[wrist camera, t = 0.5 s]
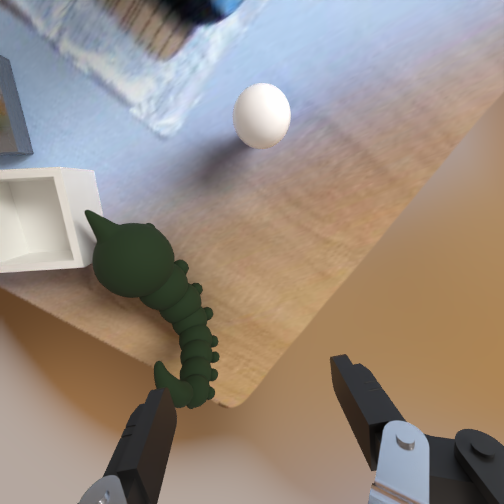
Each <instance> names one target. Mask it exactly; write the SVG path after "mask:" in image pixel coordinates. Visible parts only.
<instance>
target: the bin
mask: <svg viewBox="0 0 504 504" xmlns="http://www.w3.org/2000/svg"><path fill="white" fill-rule="evenodd" d="M85 210H90V211H93V212H95V213H96V214H98V215H100V216H102V217H103V212H102V207H101V202H100V197H99V192H98V187H97V183H96V178H95V173H94V170H85V169H76V168H66V167H48V168H27V169H6V170H0V273H6V272H21V271H37V270H52V269H67V268H82V267H86V266H88V265H89V264H91V263H93V262H92V258H93V251H94V248H95V246H96V244H97V240H96V237H95V235H94V233H93V231H92V229H91V227H90V225H89V223H88V221H87V218H86V216H85Z"/></svg>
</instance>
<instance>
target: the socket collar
mask: <svg viewBox="0 0 504 504" xmlns="http://www.w3.org/2000/svg"><path fill="white" fill-rule="evenodd" d="M20 154H33V150H32V146H31V142H30V138H29V134H28V131H27V127H26V123H25V119H24V115H23V111H22V108H21V104H20V100H19V96H18V92H17V88H16V85H15V81H14V77H13V73H12V69H11V65H10V62H9V60H8V59H7V58H5V57H3V56H1V55H0V155H20Z"/></svg>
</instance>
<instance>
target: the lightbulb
mask: <svg viewBox="0 0 504 504" xmlns="http://www.w3.org/2000/svg"><path fill="white" fill-rule="evenodd" d="M290 119H291V111H290V106H289V103H288V100H287V98H286V97H285V95H284V94H283V92H282V91H281V90H279V89H278V88H277V87H275V86H273V85H271V84H267V83H257V84H253V85H251V86H249V87H247V88H246V89H245V90H244V91H243V92H242V93H241V94H240V95H239V96H238V98H237V100H236V102H235V105H234V109H233V125H234V128H235V131H236V133H237V135H238V136H239V138H240V139H241V140H242V141H243V142H244V143H245V144H247V145H248V146H250V147H253V148H256V149H266V148H270V147H272V146H274V145H276V144H277V143H279V142H280V141H281V140H282V139H283V137H284V136H285V134H286V133H287V131H288V128H289V125H290Z"/></svg>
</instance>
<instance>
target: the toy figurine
mask: <svg viewBox="0 0 504 504" xmlns="http://www.w3.org/2000/svg"><path fill="white" fill-rule="evenodd" d="M85 216H86V218H87V221H88V223H89V225H90V227H91V229H92V231H93V233H94V235H95V237H96V240H97V244H96V246H95V248H94V251H93V258H92V262H93V269H94V272H95V275H96V277H97V279H98V280H99V282H100V283H101V284H102V285H103V286H104V287H106V288H107V289H108V290H109V291H111V292H112V293H114V294H117V295H120V296H123V297H130V298H135V297H139V298H140V300H141V301H142V302H143V303H144V304H145V305H147V306H148V307H150V308H152V309H155V310H159V312H160V314H161V316H162V317H163V318H164V319H165V320H166V321H168V322H170V323H172V326H173V329H174V330H175V332H176V333H177V334H178V335H179V345H180V348H181V350H182V351H181V355H180V359H181V364H182V368H181V370H180V380H179V379H177V378H176V377H174V376H173V375H172V374H170V373H169V372H168V371H167V369H166V368H165V366H164V365H163V363H162V362H161V361H157V362H156V363H155V365H154V379H155V385H156V388H157V389H160V388H165V387H167V388H168V389H169V391H170V394H171V397H172V400H173V403H174V407H176V408H181V407H185V406H187V407H188V408H189V409H193V408H196V407H199V406H201V405H202V404H203V403H205V402H206V400H210V399H212V398H213V397H214V395H215V390H214V389H213V388H212V387H210V385H209V381H214V380H216V378H217V377H218V372H217V370H216V369H212V368H211V365H210V363H215V362H217V361H218V360H219V354H218V353H217V352H212V349H211V348H212V347H216V346H217V345H218V339H217V337H216V336H214V335H213V336H212V334H211V332H210V329H209V328H208V327H207V326H206V324H207V321H208V320H210V319H211V318H212V316H213V311H212V309H211V308H209V307H205V308H202V307H201V297H200V294H201V293H202V291H203V289H202V286H201V285H200V284H199V283H193V284H192V285H191V284H189V283H188V281H187V277H186V273H187V272H188V269H189V267H188V264H187V263H186V262H185V261H183V260H177V261H175V262H174V253H173V249H172V247H171V245H170V243H169V241H168V240H167V239H166V237H165V236H164V235H163V234H162V233H161V232H160V231H159V230H157V229H156V228H155V226H154V225H153V224H151V223H147V224H139V223H128V224H122V225H118V224H115V223H113V222H111V221H109V220H108V219H106V218H104V217H102V216H100V215H98V214H96V213H95V212H93V211H90V210H85Z"/></svg>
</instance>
